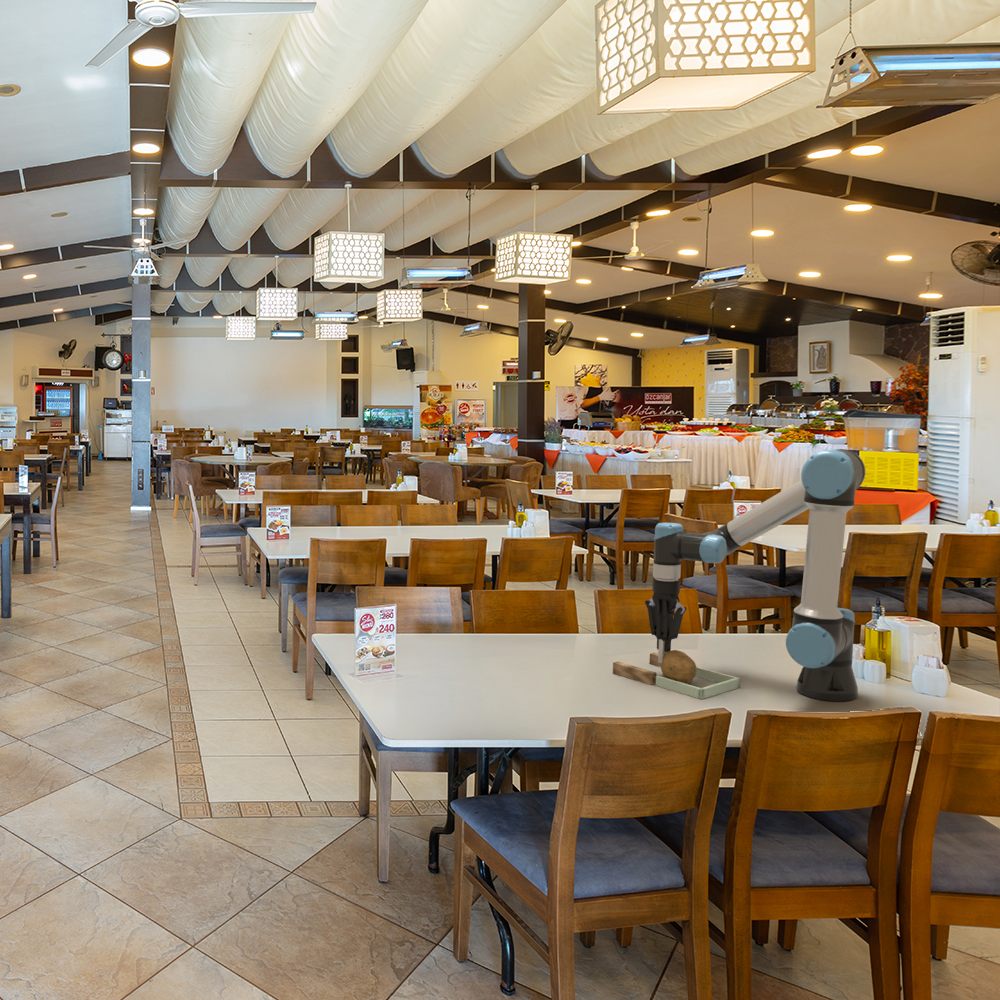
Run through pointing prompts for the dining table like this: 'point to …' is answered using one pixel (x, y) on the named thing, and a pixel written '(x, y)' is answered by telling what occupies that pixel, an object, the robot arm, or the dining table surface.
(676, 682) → the frame
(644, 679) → the channel
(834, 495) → the robot arm
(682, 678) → the potato
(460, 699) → the dining table surface
